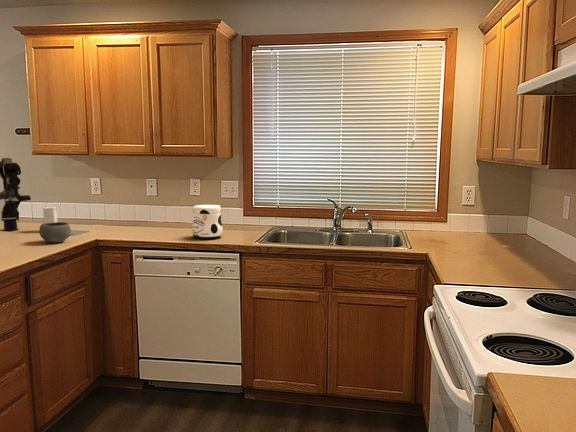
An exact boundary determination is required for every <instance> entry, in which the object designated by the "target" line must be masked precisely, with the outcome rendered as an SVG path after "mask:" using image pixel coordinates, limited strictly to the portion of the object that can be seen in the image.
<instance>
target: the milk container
mask: <svg viewBox="0 0 576 432" xmlns="http://www.w3.org/2000/svg"><path fill="white" fill-rule="evenodd" d="M221 208H222V207H221V205H218V204H198V205H193V211H192V212H193V214H192V215H193V217H192V218H193V222H192V226H191V233H192V235H193V236H194V237H195V238H198V239H216V238H219V237H221V236H222V235H223V231H224V230H223V229H224V227H223V223H222V209H221Z"/></svg>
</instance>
